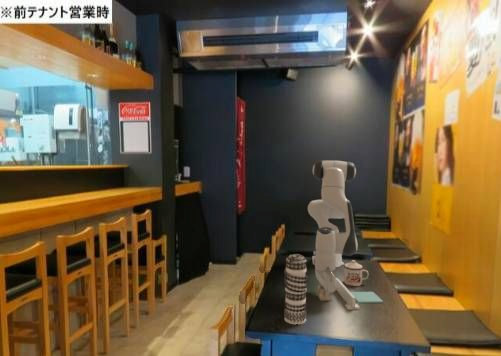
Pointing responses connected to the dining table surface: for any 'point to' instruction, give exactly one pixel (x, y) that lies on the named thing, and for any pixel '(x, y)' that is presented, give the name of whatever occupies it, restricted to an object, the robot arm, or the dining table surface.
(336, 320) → the dining table surface
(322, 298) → the maple block
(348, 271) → the teacup with lid
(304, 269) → the decorative candle
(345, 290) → the divider wall
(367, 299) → the pad
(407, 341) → the dining table surface
